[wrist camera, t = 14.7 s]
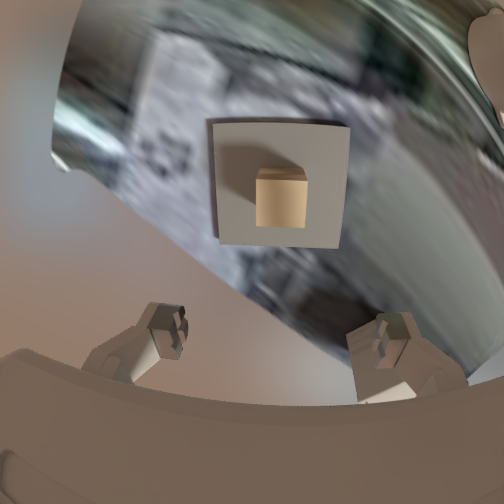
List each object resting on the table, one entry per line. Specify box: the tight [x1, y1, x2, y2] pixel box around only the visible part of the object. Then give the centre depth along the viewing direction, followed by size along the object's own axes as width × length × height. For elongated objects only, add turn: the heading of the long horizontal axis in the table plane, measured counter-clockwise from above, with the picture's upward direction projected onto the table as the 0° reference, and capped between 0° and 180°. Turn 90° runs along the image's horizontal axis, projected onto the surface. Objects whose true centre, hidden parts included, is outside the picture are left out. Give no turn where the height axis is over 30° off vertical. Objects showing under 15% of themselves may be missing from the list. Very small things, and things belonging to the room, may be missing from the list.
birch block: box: [256, 167, 308, 228], centre depth 27 cm, size 4×4×5 cm
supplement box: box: [346, 320, 416, 404], centre depth 34 cm, size 7×7×13 cm
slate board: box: [213, 122, 350, 249], centre depth 29 cm, size 14×14×1 cm
